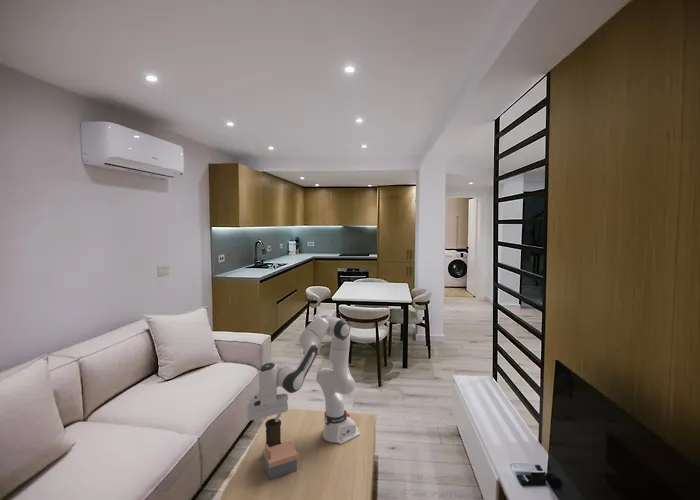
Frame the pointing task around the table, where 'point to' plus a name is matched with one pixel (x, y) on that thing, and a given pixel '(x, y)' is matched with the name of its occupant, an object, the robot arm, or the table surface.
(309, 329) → the robot arm
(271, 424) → the container
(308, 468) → the table surface
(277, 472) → the tub
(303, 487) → the table surface
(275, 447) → the lid
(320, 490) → the table surface
